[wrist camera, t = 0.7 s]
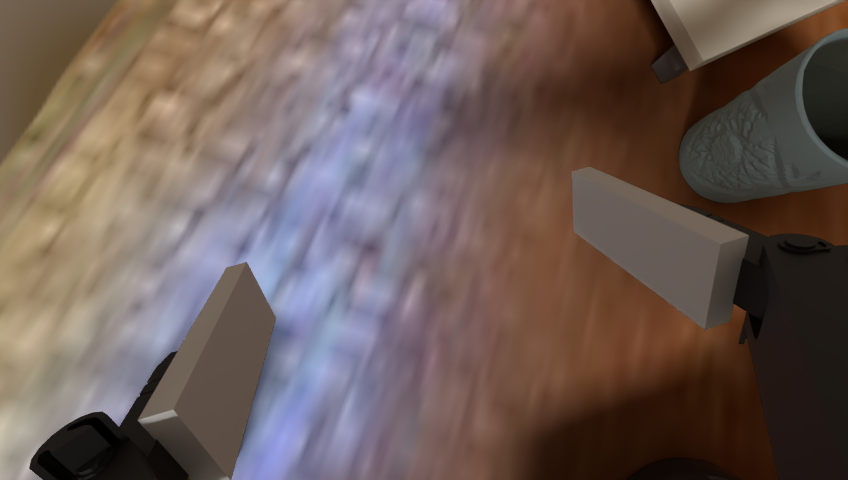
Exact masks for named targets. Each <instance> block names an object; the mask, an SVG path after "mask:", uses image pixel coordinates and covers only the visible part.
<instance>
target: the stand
mask: <svg viewBox="0 0 848 480" xmlns="http://www.w3.org/2000/svg"><path fill="white" fill-rule="evenodd" d="M844 1H846V0H651V2H652V3H653V5H654V7H655V9H656V11H657V12H658V14H659V16H660V18H661V20H662V21H663V23H664V25H665V27H666V29H667V30H668V32H669V34H670V36H671V38H672V39H673V41H674V43H675V44H674V45H673V46H672V47H671V48H670V49H669V50H668V51H667V52H666V53H665V54H663V55H662V56H661V57H660V58H659V59H658V60H657V61H656V62H655V63H653V64H652V65H651V67H652V69H653V71H654V73H655V75H656V76H657V78H658V80H659V82H660V84H661V83H663V82H665V81H668V80H670V79H672V78H674V77H676V76H679V75H680V74H681V73H683V72H684V71H685V70H686V69H688V68H689V70H690V71H692V70H694V69H696V68H699V67H701V66H703V65H705V64H707V63H710V62H712V61H714V60H716V59H718V58H721V57H723V56H725V55H727V54H729V53H732V52H734V51H736V50H738V49H740V48H743V47H745V46H747V45H749V44H751V43H754V42H756V41H758V40H760V39H762V38H764V37H767V36H769V35H771V34H773V33H775V32H778V31H780V30H782V29H784V28H786V27H789V26H791V25H793V24H795V23H797V22H800V21H802V20H804V19H806V18H808V17H811V16H813V15H815V14H817V13H819V12H822V11H824V10H826V9H828V8H830V7H833V6H835V5H837V4H839V3H841V2H844Z"/></svg>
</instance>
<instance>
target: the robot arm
mask: <svg viewBox="0 0 848 480" xmlns="http://www.w3.org/2000/svg"><path fill="white" fill-rule="evenodd" d="M572 193H573V229H574V232H575V233H576V234H578V235H579V236H580V237H582V238H583V239H584V240H586V241H587V242H588V243H590V244H591V245H592V246H594V247H595V248H596V249H598V250H599V251H600V252H602V253H603V254H604V255H606V256H607V257H608V258H610V259H611V260H612V261H614V262H615V263H616V264H618V265H619V266H620V267H622V268H623V269H624V270H626V271H627V272H628V273H630V274H631V275H632V276H634V277H635V278H636V279H638V280H639V281H640V282H642V283H643V284H644V285H646V286H647V287H648V288H650V289H651V290H652V291H654V292H655V293H656V294H658V295H659V296H660V297H662V298H663V299H664V300H666V301H667V302H668V303H670V304H671V305H672V306H674V307H675V308H676V309H678V310H679V311H680V312H682V313H683V314H684V315H686V316H687V317H688V318H690V319H691V320H692V321H694V322H695V323H696V324H698V325H699V326H700V327H702V328H703V329H704V330H705V329H708V328H711V327H714V326H717V325H720V324H724V323H727V322H730V318H731V313H732V309H733V304H735V305H737V306H739V307H740V308H742V309H743V310H745V311H746V315H745V319H744V323H743V327H742V331H741V335H740V340H739V344H744V343H745V339H748V343H749V348H750V352H751V357H752V361H753V366H754V370H755V375H756V379H757V384H758V388H759V393H760V397H761V402H762V406H763V411H764V416H765V420H766V425H767V429H768V434H769V438H770V443H771V447H772V452H773V456H774V461H775V465H776V470H777V474H778V479H779V480H848V245H842V246H834V245H832V244H831V243H829V242H827V241H825V240H822V239H820V238H816V237H812V236H808V235H800V234H778V235H773V236H770V237H766V236H764V235H761V234H759V233H757V232H754V231H752V230H749V229H747V228H745V227H742V226H740V225H737V224H735V223H733V222H730V221H728V220H727V221H725V220H724V219H723V218H721V217H718V216H716V215H714V216H713V215H712V214H711V213H709V212H706V211H704V210H701V209H699V208H696V207H691V206H686V205H682V204H675V203H673V202H671V201H668V200H666V199H664V198H661V197H659V196H657V195H654V194H652V193H650V192H647V191H645V190H643V189H640V188H638V187H636V186H634V185H631V184H629V183H627V182H624V181H622V180H620V179H617V178H615V177H613V176H610V175H608V174H606V173H603V172H601V171H599V170H596V169H594V168H592V167H586V168H583V169H579V170H576V171H572ZM275 319H276V317H275V315H274V313H273V312H272V310H271V308H270V306H269V304H268V302H267V300H266V298H265V296H264V294H263V292H262V290H261V288H260V286H259V285H258V283H257V281H256V279H255V277H254V275H253V273H252V271H251V269H250V267H249V265H248V263H247V262H245V263H242V264H238V265H234V266H231V267H227V268H226V269H225V271H224V273H223V275H222V276H221V278H220V280H219V281H218V283H217V285H216V287H215V288H214V290H213V292H212V293H211V295H210V297H209V299H208V300H207V302H206V304H205V305H204V307H203V309H202V311H201V312H200V314H199V316H198V317H197V319H196V321H195V323H194V324H193V326H192V328H191V329H190V331H189V333H188V335H187V336H186V338H185V340H184V341H183V343H182V345H181V346H180V348H179V350H178V351H176V352H172V353H170V354H169V355H168V356H167V357H166V358H165V359H164V360H163V361H162V362H161V363H160V364H159V365H158V366H157V367H156V369H155V370H154V372H153V374H152V375H151V377H150V378H149V380H148V382H147V383H148V384H147V385H145V386H144V388H143V390H142V391H141V393H140V397H138V398H137V399H136V401H135V402H134V404H133V406H132V407H131V409H130V410H129V412H128V414H127V415H126V417H125V419H124V420H123V422H122V423H121V425H120V427H118V426H117V424H116V423H115V422H114V421H113V420H112V419H111V418H110V417H109V416H108V415H107V414H105V413H104V412H93V413H90V414H87V415H85V416H82V417H80V418H78V419H76V420H74V421H72V422H71V423H69V424H67V425H65V426H64V427H63V428H61V429H60V430H59V431H57V432H56V433H55V434H53V435H52V436H51V437H50V438H49V439H48V440H47V441H46V442H45V443H44V444H43V445H42V446H41V447H40V448H39V449H38V451H37V452H36V454H35V455H34V456H33V458H32V459H31V463H30V467H29V469H31V470H32V471H33V472H34V473H35V474H37V475H38V476H39V477H40V478H42V479H43V480H187V479H188V477H189V478H190V479H191V480H231V479H232V475H233V471H234V468H235V464H236V460H237V457H238V453H239V450H240V446H241V442H242V439H243V435H244V432H245V428H246V424H247V421H248V417H249V413H250V410H251V406H252V403H253V399H254V395H255V392H256V388H257V385H258V381H259V377H260V374H261V370H262V366H263V363H264V359H265V356H266V352H267V348H268V345H269V341H270V338H271V334H272V330H273V327H274V323H275ZM628 480H740V479H738V478H737V477H735V476H734V475H732V474H731V473H729V472H727V471H726V470H724V469H722V468H720V467H718V466H716V465H714V464H711V463H708V462H705V461H701V460H696V459H687V458H676V459H668V460H663V461H660V462H657V463H654V464H651V465H649V466H647V467H645V468H643V469H641V470H640V471H638V472H637V473H635V474H634V475H633V476H632V477H630V478H629V479H628Z"/></svg>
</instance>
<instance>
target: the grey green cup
mask: <svg viewBox="0 0 848 480" xmlns="http://www.w3.org/2000/svg"><path fill="white" fill-rule="evenodd" d="M678 160H679V167H680V171H681V174H682V176H683V177H684V179H685V181H686V182H687V184H688V185H689V186H690V187H691V188H692V189H693V190H694V191H695V192H696V193H697V194H699V195H700V196H702V197H704V198H706V199H709V200H712V201H715V202H721V203H736V202H742V201H746V200H751V199H758V198H765V197H771V196H778V195H784V194H787V193H789V192H802V191H807V190H813V189H819V188H825V187H830V186H836V185H841V184H846V183H848V28H846V29H842V30H837V31H835V32H833V33H831V34H829V35H827V36H825V37H824V38H822V39H821V40H819V41H818V42H816V43H815V44H813V45H812V46H810V47H809V48H807V49H806V50H805V51H803V52H802V53H800V54H799V55H797V56H796V57H794V58H793V59H791V60H790V61H788V62H787V63H785V64H784V65H782V66H781V67H779V68H778V69H776V70H775V71H774V72H772V73H771V74H770V75H768V76H767V77H765V78H764V79H762V80H760V81H759V82H758V83H757V84H756V85H755V86H754V87H753V88H752V89H750V90H747V91H745V92H742V93H741V94H740V95H738V96H737V97H736V98H735V99H734V100H732V101H730V102H729V103H728V104H727V105H725V106H724V107H722V108H720V109H718V110H716V111H714V112H712V113H710V114H708V115H707V116H706V117H704V118H703V119H701V120H700V121H698V122H697V123H695V124H694V125H693V126H692V127H691V128H689V129H688V130H687V132H686V134H685V135H684V136H683V140H682V141H681V145H680V149H679V158H678Z"/></svg>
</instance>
